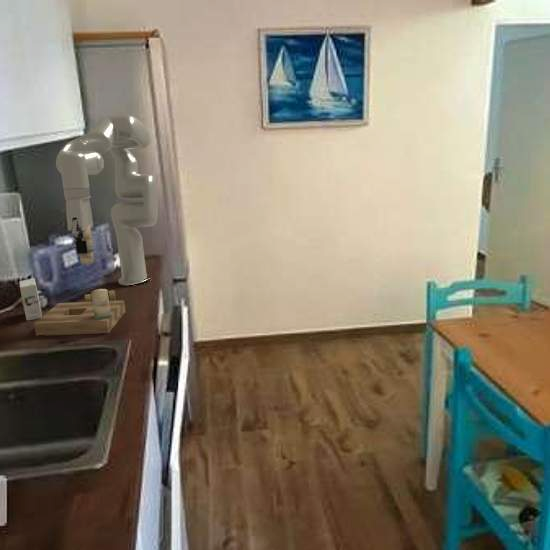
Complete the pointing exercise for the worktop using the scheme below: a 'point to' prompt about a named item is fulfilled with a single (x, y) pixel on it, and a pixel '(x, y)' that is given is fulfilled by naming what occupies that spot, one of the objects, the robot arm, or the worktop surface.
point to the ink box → (30, 299)
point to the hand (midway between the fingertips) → (85, 250)
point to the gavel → (110, 295)
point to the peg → (88, 256)
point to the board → (82, 316)
